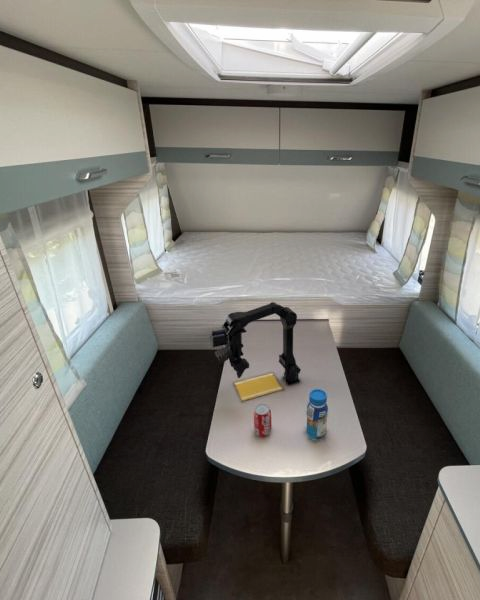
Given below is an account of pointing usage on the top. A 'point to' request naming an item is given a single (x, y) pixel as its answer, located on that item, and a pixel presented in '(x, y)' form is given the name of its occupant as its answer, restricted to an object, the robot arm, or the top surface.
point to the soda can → (262, 420)
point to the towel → (257, 386)
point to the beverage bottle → (317, 414)
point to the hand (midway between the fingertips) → (235, 372)
